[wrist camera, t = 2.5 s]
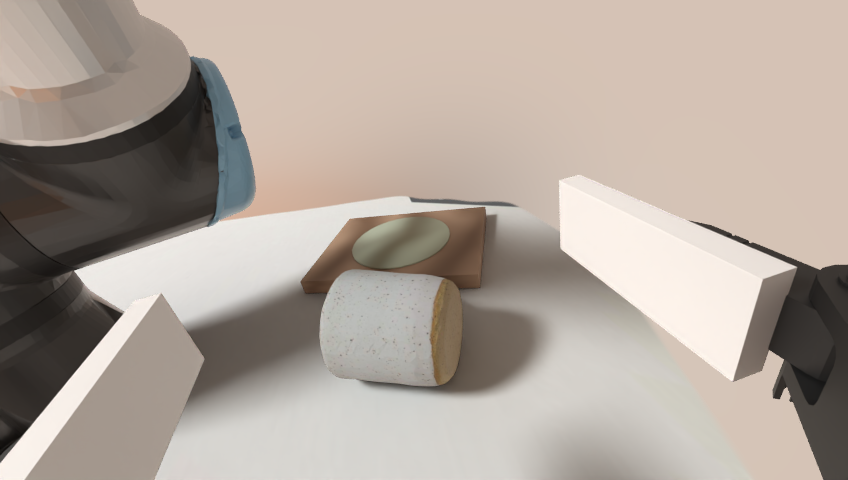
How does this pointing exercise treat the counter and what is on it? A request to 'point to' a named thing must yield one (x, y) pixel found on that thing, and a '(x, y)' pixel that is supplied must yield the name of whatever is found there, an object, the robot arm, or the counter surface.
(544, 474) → the counter surface
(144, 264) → the counter surface
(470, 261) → the walnut board
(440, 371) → the speckled gray mug
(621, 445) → the counter surface
